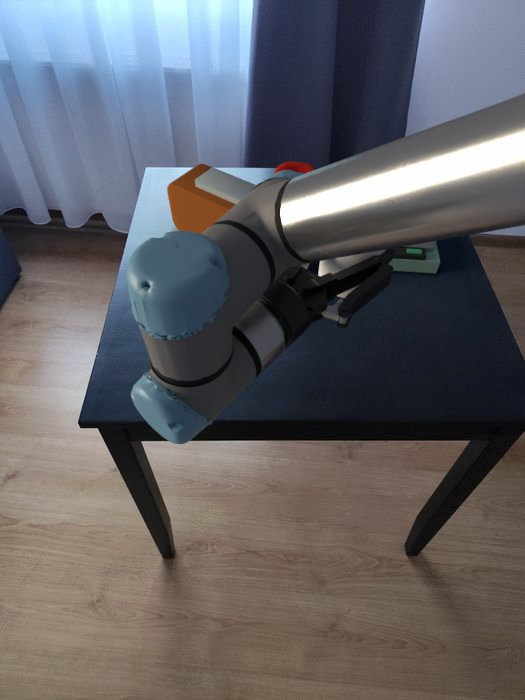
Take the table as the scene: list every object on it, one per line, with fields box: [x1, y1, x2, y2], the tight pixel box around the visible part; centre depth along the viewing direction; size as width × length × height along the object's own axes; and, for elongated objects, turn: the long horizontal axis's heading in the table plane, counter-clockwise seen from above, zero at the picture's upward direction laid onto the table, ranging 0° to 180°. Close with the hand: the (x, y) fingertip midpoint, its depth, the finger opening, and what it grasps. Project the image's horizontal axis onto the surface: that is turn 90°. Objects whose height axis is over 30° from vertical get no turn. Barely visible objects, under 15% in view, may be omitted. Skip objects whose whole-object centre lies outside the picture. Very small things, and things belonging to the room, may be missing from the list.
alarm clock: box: [166, 163, 256, 234], centre depth 83 cm, size 24×8×11 cm, turn 54°
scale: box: [388, 241, 441, 274], centre depth 85 cm, size 13×13×4 cm
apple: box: [272, 161, 316, 175], centre depth 92 cm, size 9×9×8 cm
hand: (375, 223), depth 62 cm, fingers closed on beverage can, 6 cm apart
